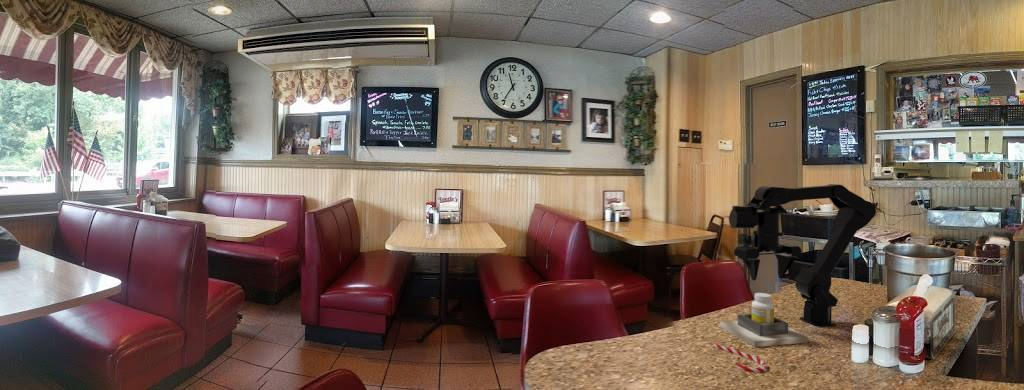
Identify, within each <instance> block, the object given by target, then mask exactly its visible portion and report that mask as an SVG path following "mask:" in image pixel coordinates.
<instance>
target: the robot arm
mask: <svg viewBox="0 0 1024 390" xmlns="http://www.w3.org/2000/svg"><path fill="white" fill-rule="evenodd" d="M821 199H829V200H830V202H831V203H832V205H834V206H835V207H836V208H837V209H838V210H837V214H836V226H835V228H834V229H833V231H832V232H831V234H830V236H829V237H828V240H826V243H825V245H824V246H823V248H822V250H821V251H820V253H819V255H818V256H817V258H816V260H815V261H814V264H813V265H812V266H811V267H809V268H804V267H802V268H801V269H800V270H799V273H798V275H797V276H796V277H795V278H794V280H796V281H795V283H794V286H795V288H796V291H797V293H798V292H799V294H800V297H801V298H802V299H804V306H803V316H802V317H799V320H801V321H804V322H806V323H809V324H810V325H813V326H815V327H825V326H826V327H827V326H836V325H837V323H836V322H834V321H832V308H833V307H834V308H835V307H836V306H837V304H838V302H839V301H838V300H839V299H838V298H837V297H835V295H834V294H833V293H831V292H830V290H831V287H832V273H833V272H834V270H835V268H836V266H838V264H839V262H840V260H841V259H842V257H843V255H844V254H845V252H846V250H847V248H848V246H850V243H851V241H852V240H853V239H854V237H855V235H856V233H857V232H858V231H861V230H862V229H863V228H864V227H866V226H867V225H869V223H870V222H871V221H872V220H873V218H875V216H876V214H877V209H876V206H875V205H874V204H873V203H872V202H871V201H869V200H865V199H864V198H863V197H861V196H859V195H858V194H856V193H854V192H852V191H851V190H849V189H848V188H847V187H846V186H844V185H842V184H835V183H832V184H831V183H829V184H826V185H825V184H824V185H814V186H813V185H812V186H801V187H789V188H788V187H780V186H779V187H777V186H765V185H763V186H760V187H758V188H757V189H756V190H755V192H754V196H753V197H752V198H751V199H750V201H749V202H748V203H747V204H746V205H745V206H742V205H732V209H731V210H730V213H729V215H728V222H729V227H731V228H732V229H754V228H755V227H756V230H753V232H752V235H747V233H741V234H738V237H737V242H738V245H740V246H736V247H735V248H734V251H733V255H734V256H735V257H738V259H740V260H742V261H743V262H744V263H745V265H746V268H747V270H748V273H749V276H750V279H751V281H753V282H754V281H756V280H757V277H758V272H759V267H760V263H761V261H760V260H761V259H759V257H760V255H761V256H762V255H774V256H775V257H776V260H777V276H778V277H777V278H779V279H781V280H782V279H783V278H784V277H785V275H786V273H787V272H788V270H789V269H790V267H791V266H792V265H793V263H794V262H795V261H796V260H798V258H799V257H802V251H803V250H802V248H801V247H800V245H795V244H790V243H780V237H782V236H783V235H784V234H783V232H782V231H781V232H780V214H788V210H787V209H785V208H784V207H783V205H786V204H788V203H791V202H796V201H809V200H821Z"/></svg>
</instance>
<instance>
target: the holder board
mask: <svg viewBox="0 0 1024 390" xmlns="http://www.w3.org/2000/svg"><path fill="white" fill-rule="evenodd" d="M719 328H721V330H724V331H725V332H727V333H729V334H731V335H732V336H734V337H736V338H738V339H740V340H741V341H743V342H745V343H747V344H749V345H750V346H752V347H754V348H759V347H770V346H780V345H782V346H784V345H792V344H802V343H803V344H804V343H809V336H808V335H805V334H803V333H801V332H798V331H796V330H794V329H792V328H789V322H787V321H784V320H782V319H779V318H777V317H775V316H774V323H764V324H760V323H758V322H756V321H754V320H752V313H741V314H737V320H735V321H734V320H733V321H721V322H719Z"/></svg>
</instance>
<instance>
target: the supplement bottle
mask: <svg viewBox="0 0 1024 390" xmlns="http://www.w3.org/2000/svg"><path fill="white" fill-rule="evenodd" d="M771 301H772V295H771V294H769V293H766V292H765V293H764V292H755V293H754V300H753V301H752V302H751V314H752V320H754V321H756V322H758V323H760V324H764V323H774V317H775V306H774V304H773V303H772V302H771Z"/></svg>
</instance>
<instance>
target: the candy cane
mask: <svg viewBox="0 0 1024 390" xmlns="http://www.w3.org/2000/svg"><path fill="white" fill-rule="evenodd" d="M712 348H713V349H717V350H719V351H724V352H728V353H729V354H734V355H735V356H737V355H738V356H741V357H743V358H745V359H749V360H751V361H752V362H755V363H757V364H759V366H760V367H751V366H746V365H743V364H740V363H736V364H735V367H736V368H737V369H739V370H742V371H745V372H748V373H755V374H762V373H766V372H767V371H768V369H769V366H768V364H767V362H765V361H764V360H763V359H761V358H759V357H756V356H754V355H752V354H750V353H746V352H744V351H740V350H737V349H735V348H731V347H728V346H724V345H720V344H716V343H713V344H712Z"/></svg>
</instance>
